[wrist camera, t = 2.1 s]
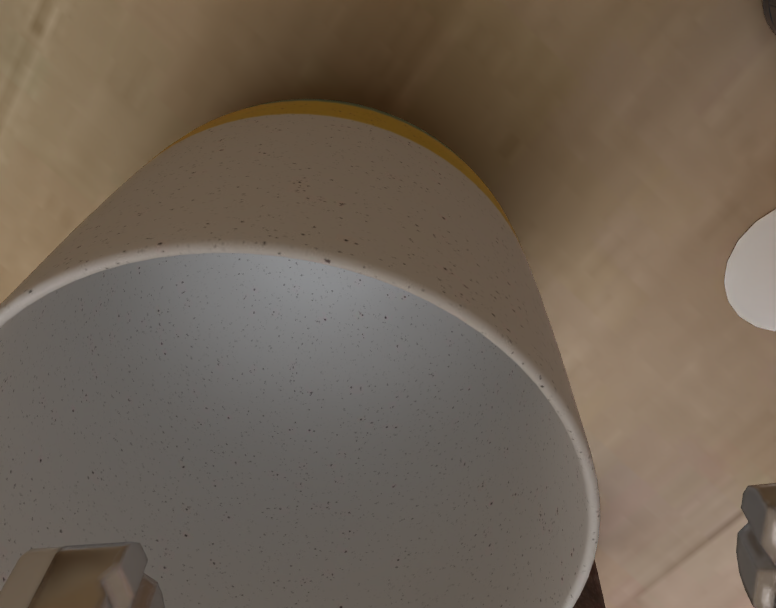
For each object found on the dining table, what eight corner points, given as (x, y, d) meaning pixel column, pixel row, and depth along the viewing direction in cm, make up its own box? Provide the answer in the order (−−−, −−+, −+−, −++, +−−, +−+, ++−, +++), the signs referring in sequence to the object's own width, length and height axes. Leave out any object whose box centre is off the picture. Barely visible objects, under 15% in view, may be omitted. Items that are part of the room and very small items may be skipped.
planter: (163, 8, 35) (-128, 163, 16) (564, 96, 36) (719, 331, 17) (147, 347, 44) (-45, 685, 26) (463, 405, 46) (495, 766, 27)
